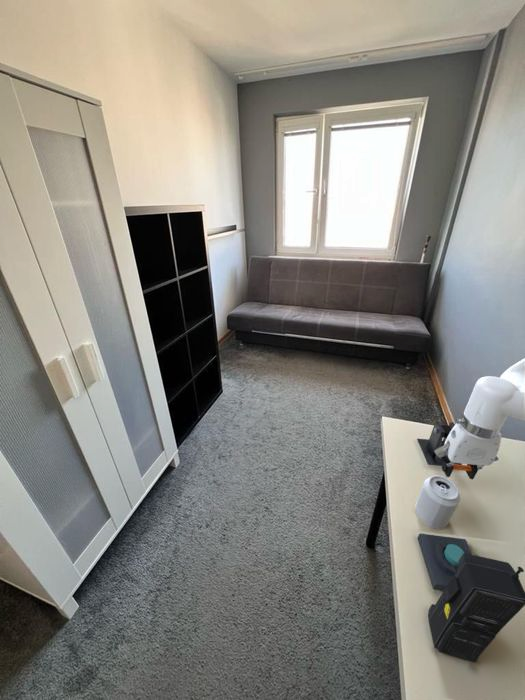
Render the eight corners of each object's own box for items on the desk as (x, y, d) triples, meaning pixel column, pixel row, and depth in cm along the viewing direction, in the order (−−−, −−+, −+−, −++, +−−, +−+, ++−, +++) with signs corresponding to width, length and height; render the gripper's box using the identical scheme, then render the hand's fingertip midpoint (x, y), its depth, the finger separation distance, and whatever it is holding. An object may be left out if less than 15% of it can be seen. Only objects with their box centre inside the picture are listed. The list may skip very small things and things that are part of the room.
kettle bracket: (459, 469, 83) (472, 441, 77) (427, 466, 84) (437, 438, 78) (445, 443, 91) (456, 416, 85) (416, 441, 93) (425, 414, 87)
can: (447, 510, 72) (462, 480, 66) (447, 537, 67) (463, 507, 61) (415, 496, 76) (426, 467, 70) (412, 521, 70) (424, 492, 64)
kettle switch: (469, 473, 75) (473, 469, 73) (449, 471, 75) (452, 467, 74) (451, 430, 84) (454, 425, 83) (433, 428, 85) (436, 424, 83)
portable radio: (428, 650, 50) (475, 588, 38) (420, 608, 56) (459, 542, 43) (477, 665, 49) (543, 605, 37) (464, 620, 54) (518, 554, 42)
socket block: (462, 544, 65) (468, 534, 63) (485, 597, 57) (493, 588, 55) (417, 538, 67) (421, 529, 65) (433, 589, 58) (438, 580, 56)
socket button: (458, 549, 61) (461, 545, 60) (466, 568, 58) (469, 564, 57) (441, 546, 62) (443, 542, 61) (448, 565, 59) (450, 561, 58)
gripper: (448, 433, 65) (428, 482, 74) (530, 439, 63) (499, 489, 71) (435, 411, 72) (419, 459, 80) (509, 416, 69) (484, 465, 78)
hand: (457, 473), depth 76 cm, fingers closed on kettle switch, 5 cm apart
